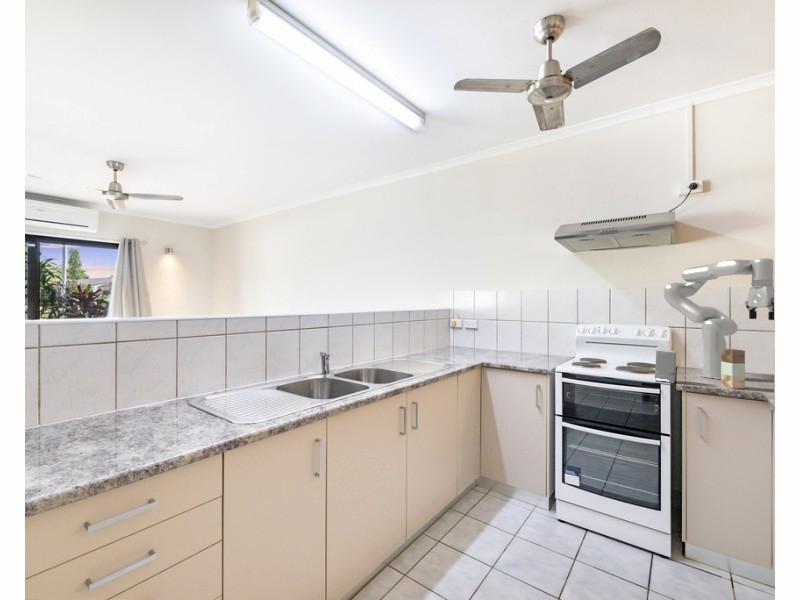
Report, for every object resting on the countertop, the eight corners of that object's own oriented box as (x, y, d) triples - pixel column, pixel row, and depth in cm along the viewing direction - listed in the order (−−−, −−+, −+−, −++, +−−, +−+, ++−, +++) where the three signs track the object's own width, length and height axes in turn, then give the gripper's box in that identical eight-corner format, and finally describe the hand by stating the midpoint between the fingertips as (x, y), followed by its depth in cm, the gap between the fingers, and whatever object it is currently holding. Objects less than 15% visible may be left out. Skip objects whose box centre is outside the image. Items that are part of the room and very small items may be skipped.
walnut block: (721, 361, 182) (721, 348, 182) (733, 361, 182) (733, 348, 182) (732, 363, 176) (732, 350, 176) (744, 363, 176) (744, 350, 176)
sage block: (721, 373, 182) (721, 361, 182) (733, 373, 182) (733, 361, 182) (732, 376, 176) (732, 363, 176) (745, 376, 176) (745, 363, 176)
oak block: (721, 386, 182) (721, 373, 182) (733, 386, 182) (733, 373, 182) (732, 389, 176) (732, 376, 176) (744, 389, 176) (744, 376, 176)
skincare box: (654, 381, 192) (654, 350, 192) (656, 379, 197) (656, 349, 197) (675, 383, 186) (675, 351, 186) (676, 381, 192) (676, 350, 192)
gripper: (738, 284, 191) (738, 318, 191) (772, 283, 173) (772, 320, 173) (753, 284, 191) (753, 318, 191) (788, 283, 173) (788, 320, 173)
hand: (762, 319), depth 182 cm, fingers open, 9 cm apart
